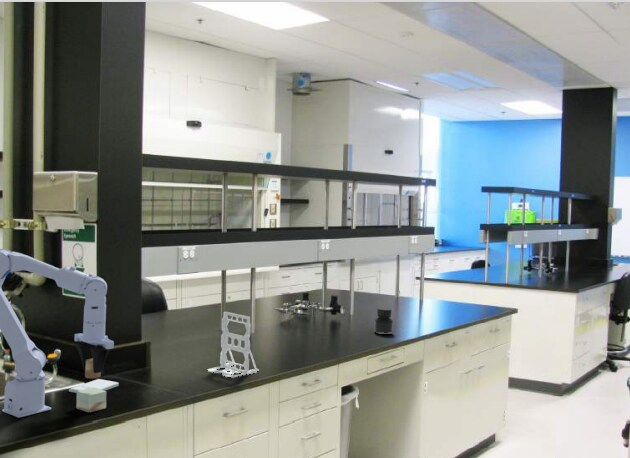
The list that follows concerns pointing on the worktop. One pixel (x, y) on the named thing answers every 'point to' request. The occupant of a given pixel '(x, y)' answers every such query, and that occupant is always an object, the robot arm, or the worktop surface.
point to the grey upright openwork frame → (234, 348)
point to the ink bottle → (383, 320)
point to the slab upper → (91, 395)
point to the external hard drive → (95, 385)
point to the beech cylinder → (90, 370)
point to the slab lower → (91, 406)
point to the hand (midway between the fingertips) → (92, 370)
